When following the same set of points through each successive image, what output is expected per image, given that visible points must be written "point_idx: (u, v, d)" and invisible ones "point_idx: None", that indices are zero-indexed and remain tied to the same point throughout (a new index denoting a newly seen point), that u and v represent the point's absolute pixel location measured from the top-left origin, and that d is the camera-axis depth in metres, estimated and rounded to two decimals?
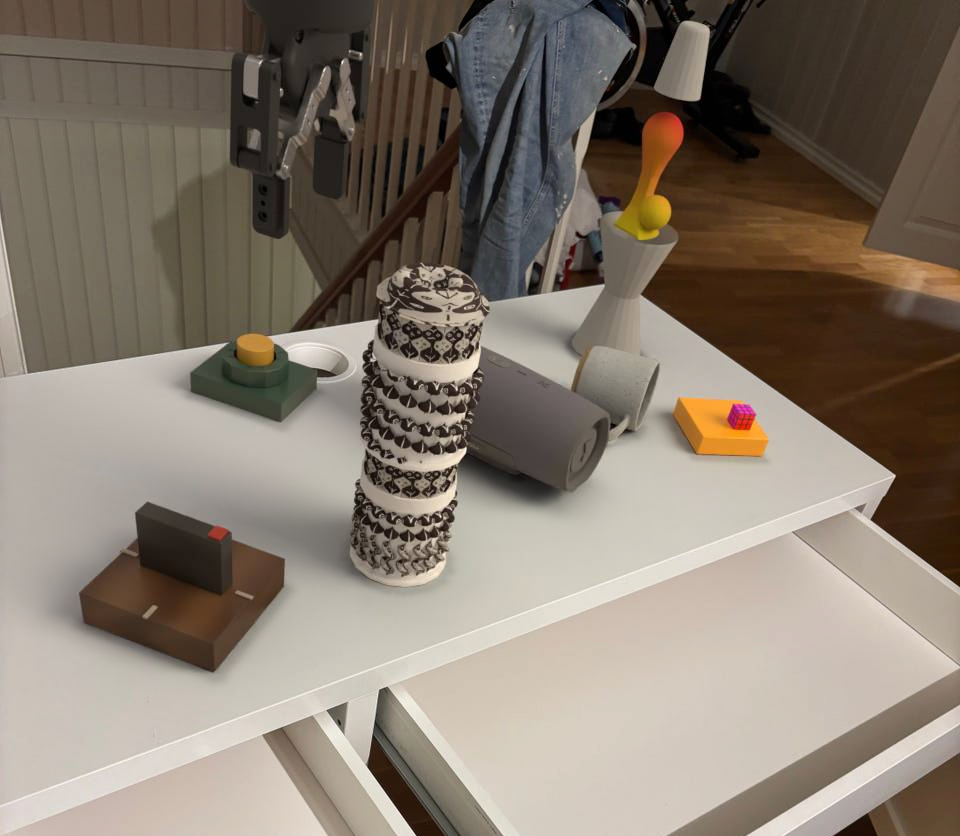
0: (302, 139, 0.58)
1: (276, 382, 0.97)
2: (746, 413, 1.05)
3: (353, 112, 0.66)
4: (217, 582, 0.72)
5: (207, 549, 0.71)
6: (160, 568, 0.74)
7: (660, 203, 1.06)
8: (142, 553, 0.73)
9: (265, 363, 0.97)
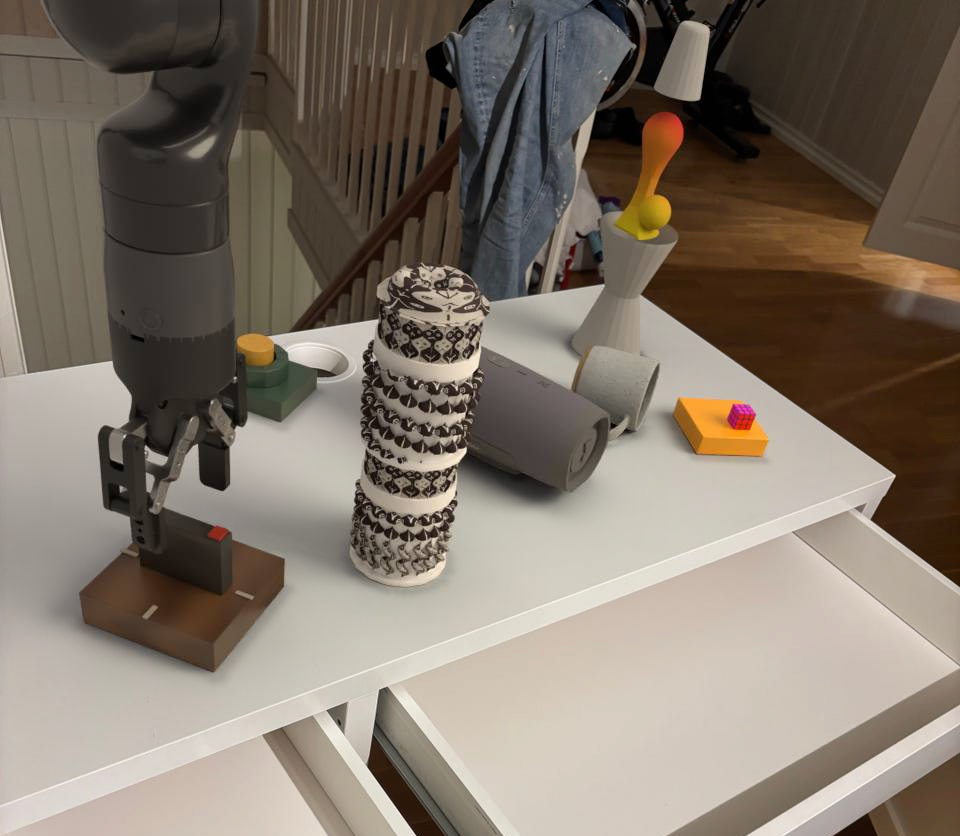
0: (173, 479, 0.64)
1: (276, 382, 0.97)
2: (746, 413, 1.05)
3: (233, 419, 0.71)
4: (217, 582, 0.72)
5: (207, 549, 0.71)
6: (160, 568, 0.74)
7: (660, 203, 1.06)
8: (142, 553, 0.73)
9: (265, 363, 0.97)
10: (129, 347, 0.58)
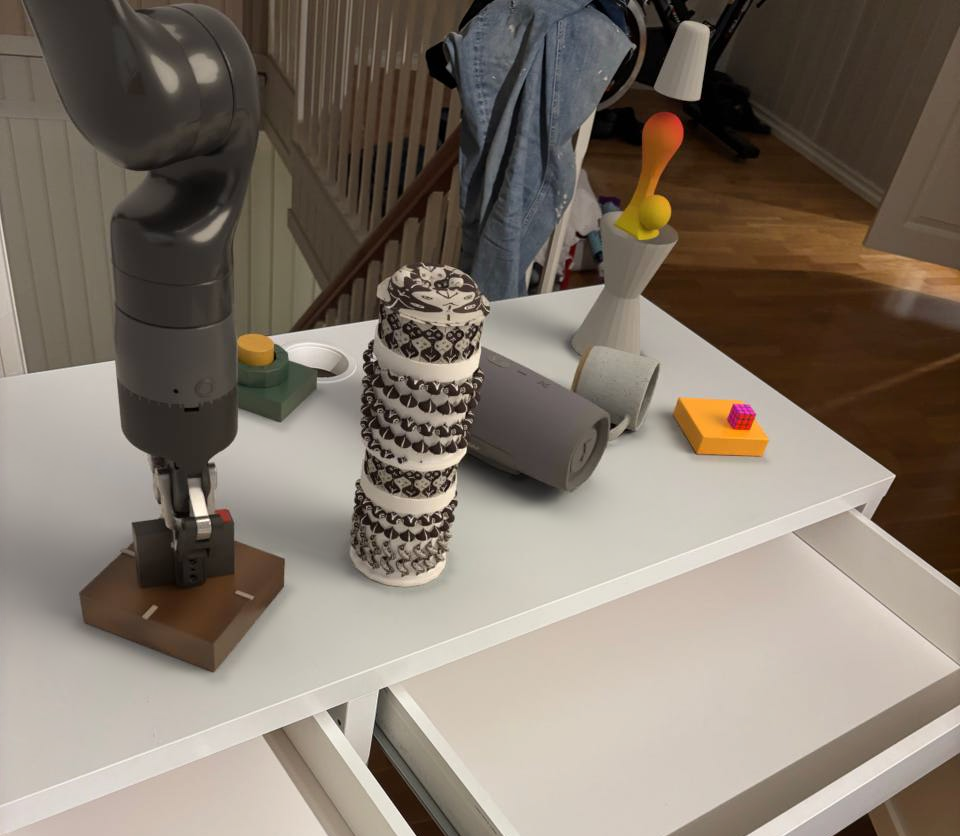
0: None
1: (276, 382, 0.97)
2: (746, 413, 1.05)
3: None
4: (229, 563, 0.74)
5: None
6: (165, 580, 0.73)
7: (660, 203, 1.06)
8: (144, 574, 0.72)
9: (265, 363, 0.97)
10: (181, 421, 0.61)
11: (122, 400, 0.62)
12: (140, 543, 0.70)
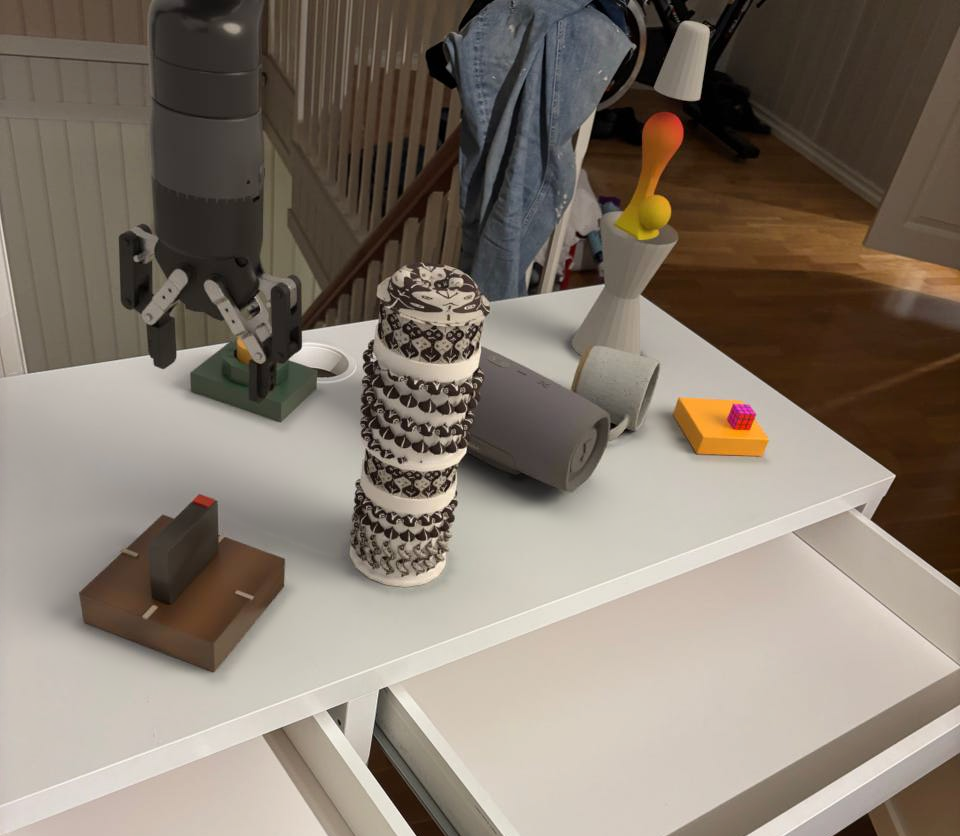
0: None
1: (276, 382, 0.97)
2: (746, 413, 1.05)
3: None
4: (216, 543, 0.76)
5: (210, 519, 0.73)
6: (183, 586, 0.73)
7: (660, 203, 1.06)
8: (172, 589, 0.71)
9: None
10: (250, 213, 0.67)
11: (189, 213, 0.65)
12: (169, 558, 0.69)
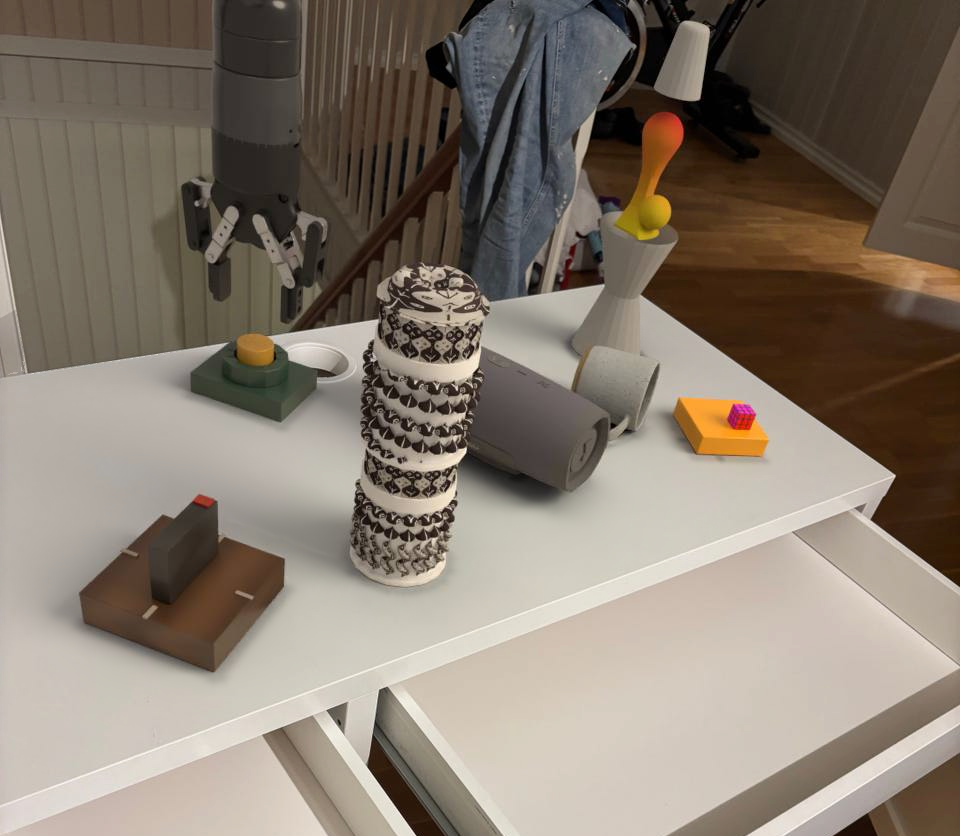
0: None
1: (276, 382, 0.97)
2: (746, 413, 1.05)
3: None
4: (216, 543, 0.76)
5: (210, 519, 0.73)
6: (183, 586, 0.73)
7: (660, 203, 1.06)
8: (172, 589, 0.71)
9: (265, 363, 0.97)
10: (291, 157, 0.83)
11: (243, 156, 0.81)
12: (169, 558, 0.69)
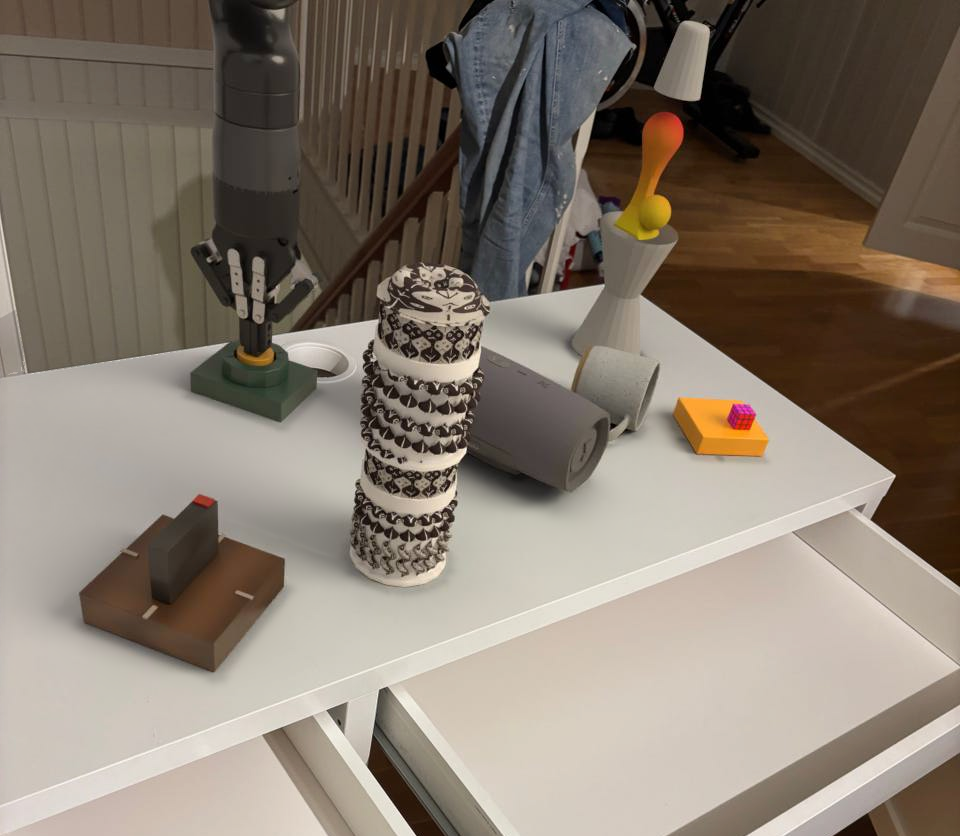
0: None
1: (276, 382, 0.97)
2: (746, 413, 1.05)
3: None
4: (216, 543, 0.76)
5: (210, 519, 0.73)
6: (183, 586, 0.73)
7: (660, 203, 1.06)
8: (172, 589, 0.71)
9: None
10: (290, 202, 0.85)
11: (244, 203, 0.83)
12: (169, 558, 0.69)
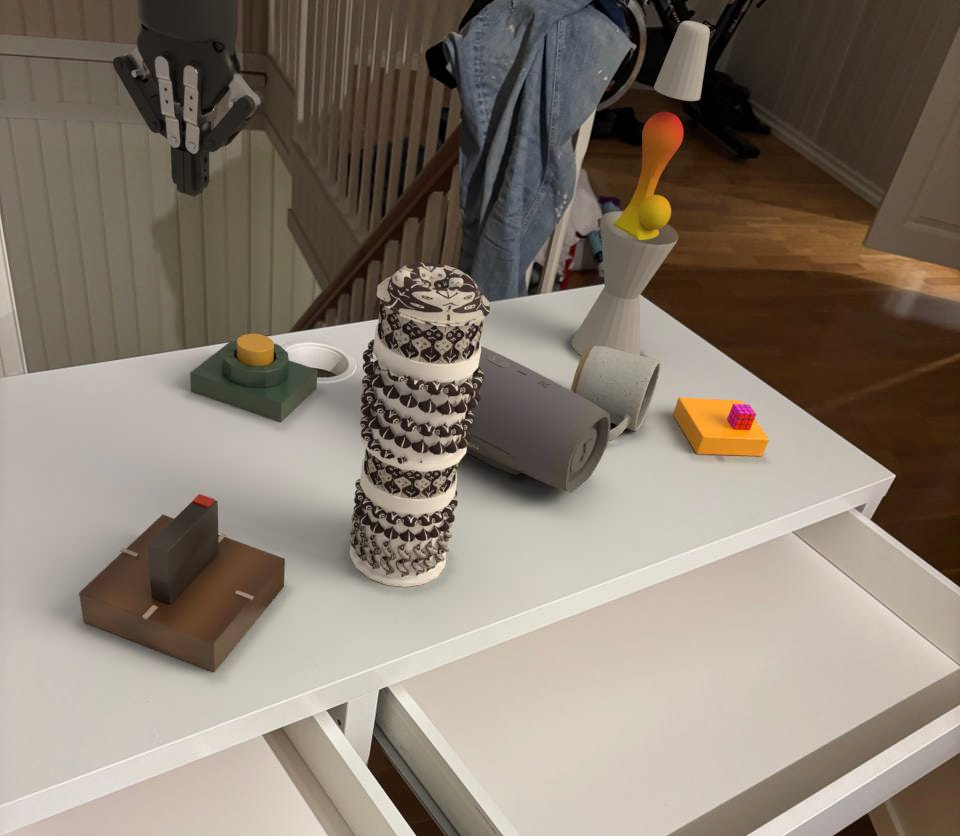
0: None
1: (276, 382, 0.97)
2: (746, 413, 1.05)
3: None
4: (216, 543, 0.76)
5: (210, 519, 0.73)
6: (183, 586, 0.73)
7: (660, 203, 1.06)
8: (172, 589, 0.71)
9: (265, 363, 0.97)
10: None
11: None
12: (169, 558, 0.69)
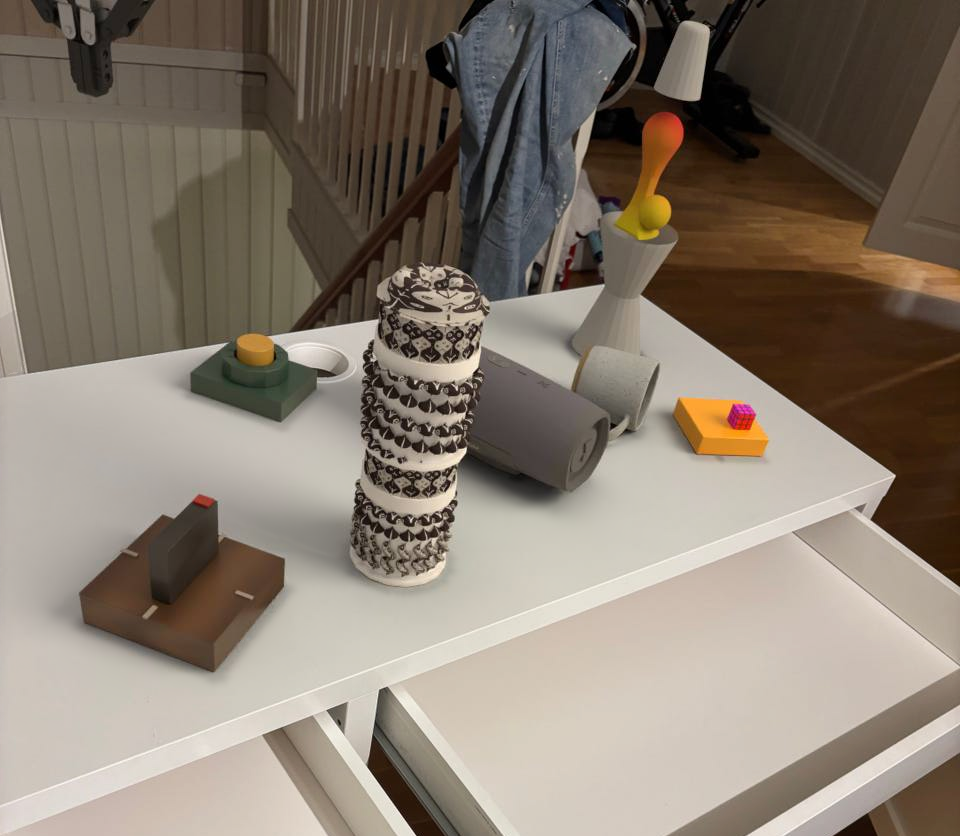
0: None
1: (276, 382, 0.97)
2: (746, 413, 1.05)
3: None
4: (216, 543, 0.76)
5: (210, 519, 0.73)
6: (183, 586, 0.73)
7: (660, 203, 1.06)
8: (172, 589, 0.71)
9: (265, 363, 0.97)
10: None
11: None
12: (169, 558, 0.69)
